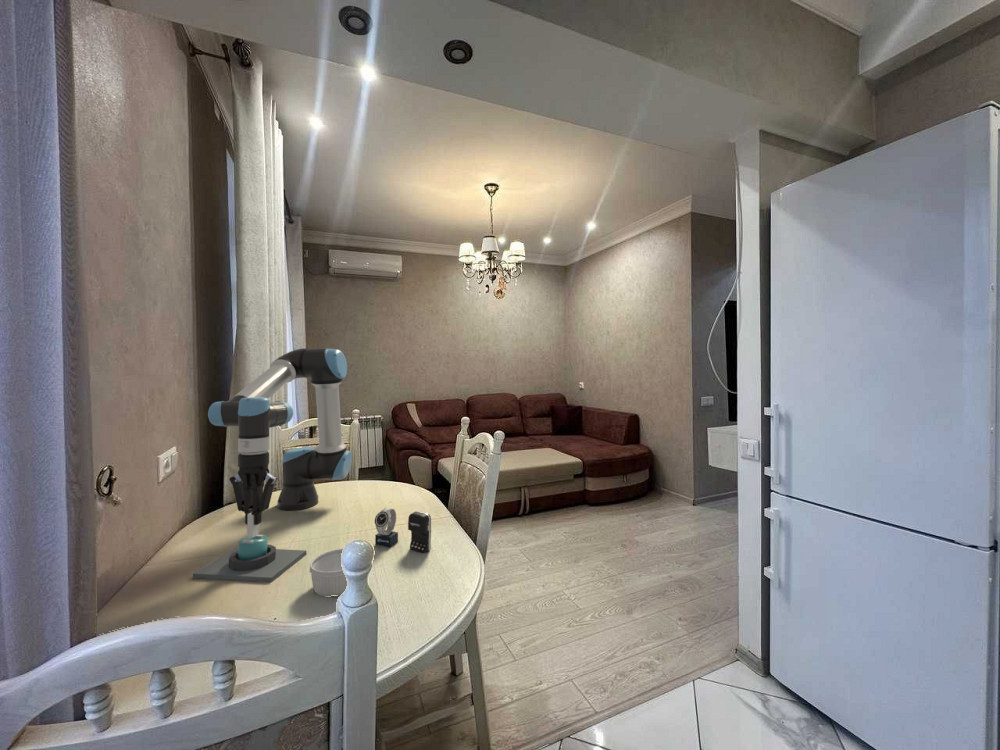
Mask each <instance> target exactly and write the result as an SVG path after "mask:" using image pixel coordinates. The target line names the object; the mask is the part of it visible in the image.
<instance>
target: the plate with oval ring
mask: <svg viewBox="0 0 1000 750" xmlns="http://www.w3.org/2000/svg"><path fill="white" fill-rule="evenodd" d="M306 555H307V550H302V549H287V548H286V549H284V548H283V549H282V548H281V549H279V548H277V547H276V546H274V545H273V544H268V543H267V554H266V555H264V556H261V557H258V558H255V559H249V560H238V546H237V547H235V548H234V549H232V550H230V551H228V552H226V553H225V554H223V555H221V556H220V557H218V558H216V559H214V560H213V561H211V562H209V563H208V564H206V565H205V566H203V567H201V568H199V569H197V570H196V571H194V572H193V573H192V574H191V575H192V577H191V578H192V579H207V580H220V581H221V580H224V581H225V580H226V581H241V582H243V581H244V582H260V583H262V582H264V583H272V582H274V581H275V580H276V579H277V578H279V577H280V576H281V575H283V574H284V573H285V572H287V570H289V569H290V568H291V567H293V566H294V565H295V564H296V563H298V562H299V561H300V560H301V559H303V558H304V557H305V556H306Z"/></svg>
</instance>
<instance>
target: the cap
mask: <svg viewBox="0 0 1000 750" xmlns="http://www.w3.org/2000/svg"><path fill="white" fill-rule="evenodd" d="M267 544H268V536H267V535H266V534H265V535H264V534H258V535H256V536H255V537H253V538H247V536H246V537H243V538H241V539H240V540H239V541H238V542H237V547H238V560H249V559H255V558H258V557H261V556H264V555H266V554H267Z"/></svg>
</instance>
